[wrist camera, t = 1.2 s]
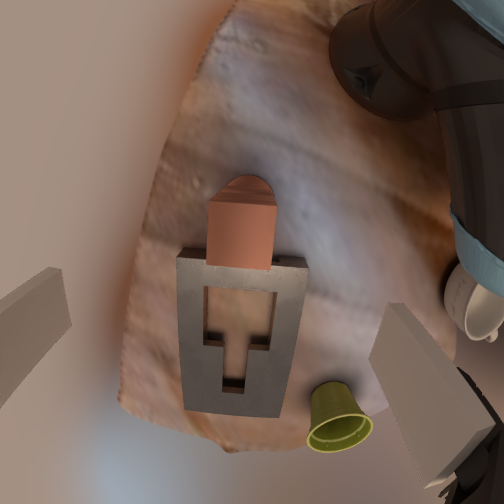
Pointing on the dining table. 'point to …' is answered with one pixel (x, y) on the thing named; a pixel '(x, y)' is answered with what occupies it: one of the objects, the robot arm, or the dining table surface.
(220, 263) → the peg
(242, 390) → the slot bracket
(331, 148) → the dining table surface
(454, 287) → the teacup
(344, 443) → the plant pot
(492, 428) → the robot arm
